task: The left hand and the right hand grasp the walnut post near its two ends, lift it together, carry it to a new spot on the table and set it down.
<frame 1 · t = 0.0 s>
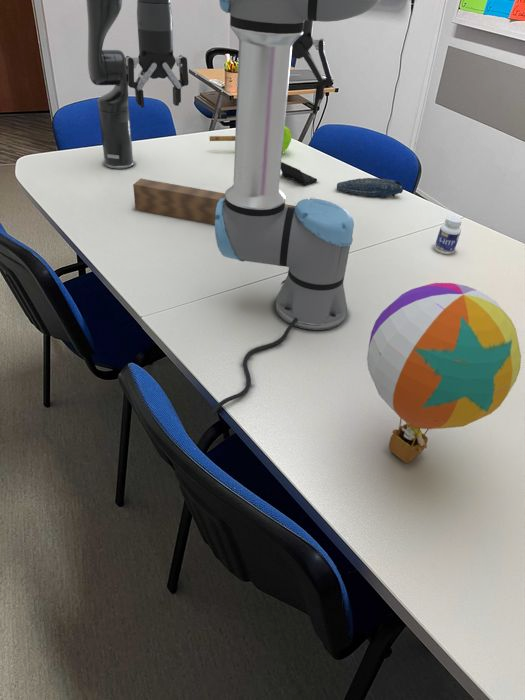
left hand: (158, 105, 124), 29 cm above the table, tool pointing down, fingers open, 8 cm apart
right hand: (288, 109, 135), 28 cm above the table, tool pointing down, fingers open, 13 cm apart
pill bottle: (443, 250, 140), on the table
handheld gaming console: (295, 179, 173), on the table
fish model: (367, 193, 168), on the table
post: (228, 223, 143), on the table
toy: (403, 453, 83), on the table
decorative tree: (250, 153, 191), on the table
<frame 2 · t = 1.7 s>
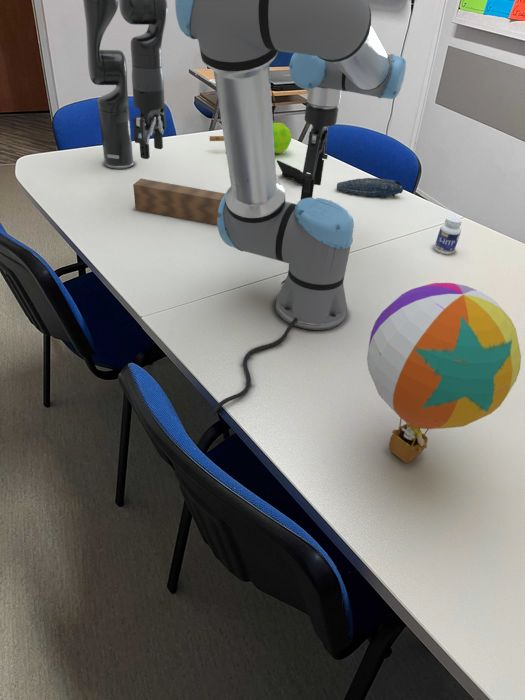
left hand: (152, 153, 137), 16 cm above the table, tool pointing down, fingers open, 8 cm apart
right hand: (310, 193, 133), 12 cm above the table, tool pointing down, fingers open, 13 cm apart
nothing on the table moved.
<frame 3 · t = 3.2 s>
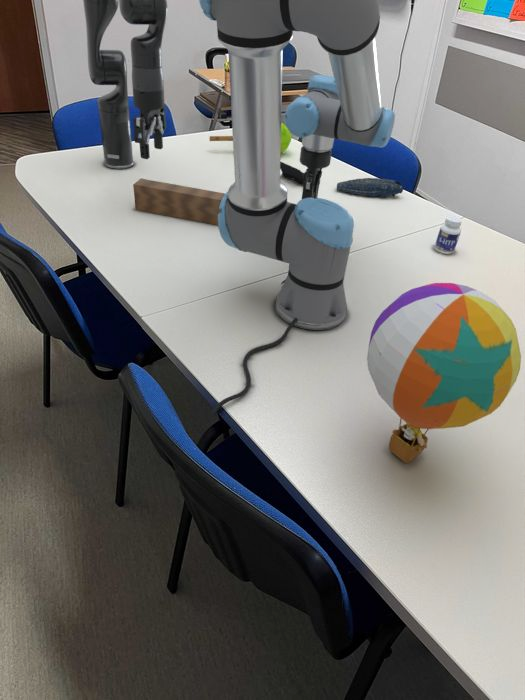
left hand: (152, 153, 137), 16 cm above the table, tool pointing down, fingers open, 8 cm apart
right hand: (304, 235, 140), 1 cm above the table, tool pointing down, fingers closed on post, 5 cm apart
post: (228, 223, 143), on the table, touching right hand
everything else where it was.
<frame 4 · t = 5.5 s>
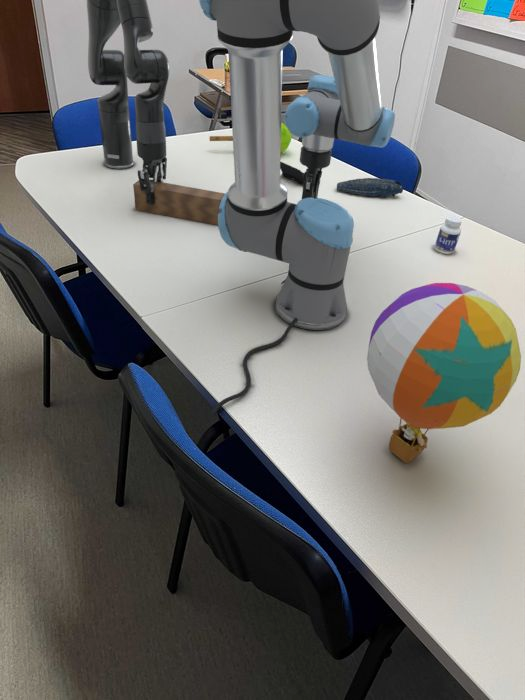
left hand: (154, 200, 145), 3 cm above the table, tool pointing down, fingers closed on post, 5 cm apart
right hand: (304, 235, 140), 1 cm above the table, tool pointing down, fingers closed on post, 5 cm apart
post: (228, 223, 143), on the table, touching right hand, left hand
everything else where it was.
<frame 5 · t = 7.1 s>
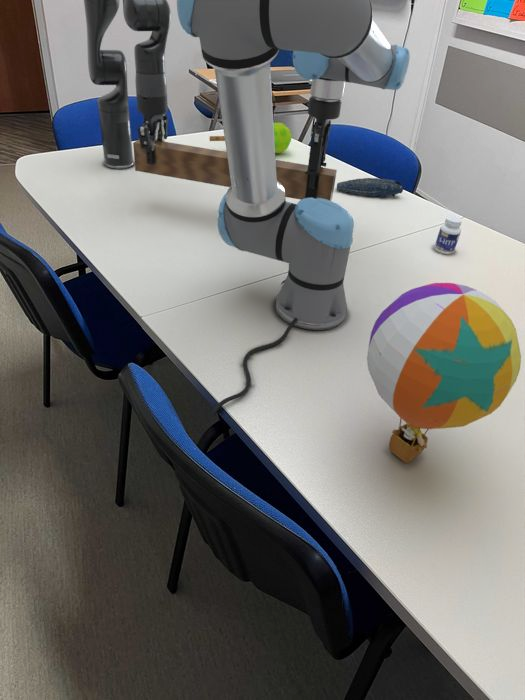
left hand: (155, 160, 139), 14 cm above the table, tool pointing down, fingers closed on post, 5 cm apart
right hand: (312, 195, 134), 12 cm above the table, tool pointing down, fingers closed on post, 5 cm apart
post: (232, 184, 137), point 11 cm above the table, touching right hand, left hand
everything else where it was.
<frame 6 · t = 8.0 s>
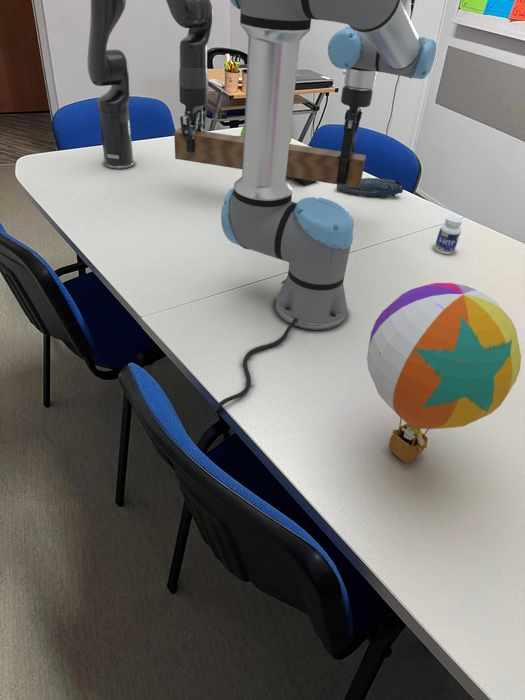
left hand: (194, 149, 148), 14 cm above the table, tool pointing down, fingers closed on post, 5 cm apart
right hand: (342, 179, 143), 12 cm above the table, tool pointing down, fingers closed on post, 5 cm apart
post: (266, 170, 147), point 11 cm above the table, touching right hand, left hand
everything else where it was.
when the right hand's fingers open (2 cm above the table, at t = 10.8 s): post moves 1 cm, on the table.
when the left hand's fingers open (4 cm above the table, at t = 10.9 s): post stays where it is, on the table.
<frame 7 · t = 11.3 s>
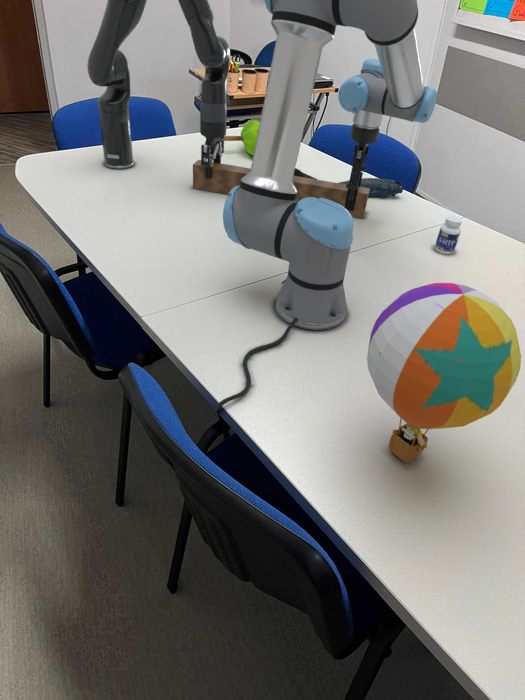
left hand: (212, 173, 159), 5 cm above the table, tool pointing down, fingers open, 8 cm apart
right hand: (351, 201, 153), 4 cm above the table, tool pointing down, fingers open, 12 cm apart
post: (277, 200, 159), on the table
everything else where it was.
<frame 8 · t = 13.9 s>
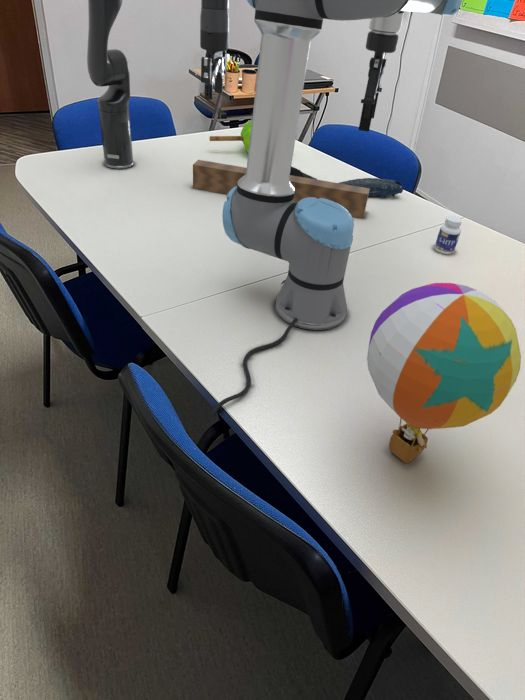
left hand: (213, 95, 145), 27 cm above the table, tool pointing down, fingers open, 8 cm apart
right hand: (366, 123, 139), 25 cm above the table, tool pointing down, fingers open, 13 cm apart
nothing on the table moved.
at the end: post inside the target area (0.6 cm from its centre), on the table; post tilted 0°; post never tilted more than 2° during the clip; both hands held the post at the same time; the left hand is holding nothing; the right hand is holding nothing; post at rest at the end (0.0 cm/s) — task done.
